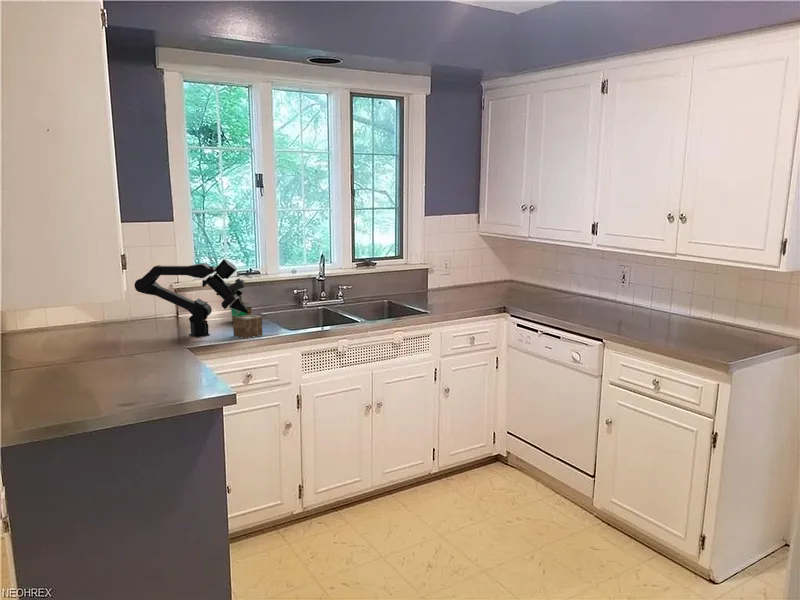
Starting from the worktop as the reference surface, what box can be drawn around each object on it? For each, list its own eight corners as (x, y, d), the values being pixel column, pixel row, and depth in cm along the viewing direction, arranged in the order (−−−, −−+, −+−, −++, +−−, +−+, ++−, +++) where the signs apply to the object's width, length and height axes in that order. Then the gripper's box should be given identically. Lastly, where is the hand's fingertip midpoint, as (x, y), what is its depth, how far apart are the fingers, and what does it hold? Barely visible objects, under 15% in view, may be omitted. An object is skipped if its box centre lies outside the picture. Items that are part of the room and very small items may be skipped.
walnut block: (244, 338, 257) (244, 320, 256) (233, 335, 262) (232, 317, 261) (262, 335, 264) (261, 316, 262) (251, 332, 269) (250, 314, 267)
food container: (224, 322, 289) (223, 301, 287) (233, 320, 294) (232, 299, 292) (244, 325, 283) (243, 304, 281) (253, 323, 288) (252, 302, 287)
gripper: (228, 276, 249) (256, 302, 251) (237, 270, 267) (264, 295, 270) (209, 295, 250) (238, 321, 252) (220, 288, 268) (246, 313, 271)
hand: (247, 312), depth 261 cm, fingers closed
